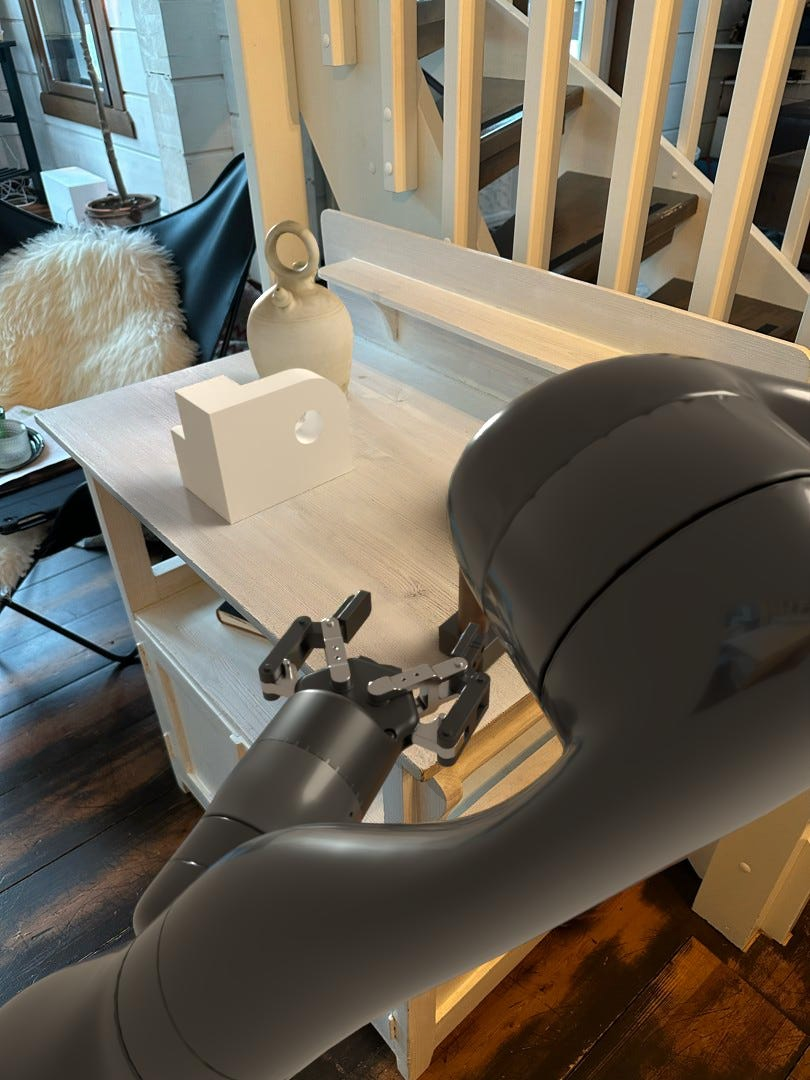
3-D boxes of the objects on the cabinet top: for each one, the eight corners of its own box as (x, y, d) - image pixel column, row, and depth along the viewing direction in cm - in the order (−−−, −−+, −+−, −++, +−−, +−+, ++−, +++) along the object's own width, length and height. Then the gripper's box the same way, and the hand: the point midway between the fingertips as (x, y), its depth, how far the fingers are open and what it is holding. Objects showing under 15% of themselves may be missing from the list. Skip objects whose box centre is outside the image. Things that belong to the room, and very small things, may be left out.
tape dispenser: (231, 524, 88) (209, 414, 80) (183, 485, 95) (158, 380, 87) (354, 469, 97) (345, 365, 89) (301, 437, 104) (289, 338, 96)
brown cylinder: (507, 650, 70) (516, 527, 62) (482, 675, 68) (487, 550, 59) (464, 627, 73) (466, 506, 64) (438, 650, 70) (437, 527, 62)
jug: (297, 366, 124) (277, 203, 110) (376, 384, 118) (367, 214, 103) (235, 403, 114) (205, 228, 99) (319, 425, 107) (299, 242, 92)
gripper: (414, 797, 37) (518, 601, 49) (184, 707, 43) (329, 549, 54) (416, 880, 42) (511, 682, 54) (208, 789, 47) (336, 626, 59)
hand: (419, 615), depth 54 cm, fingers open, 8 cm apart
